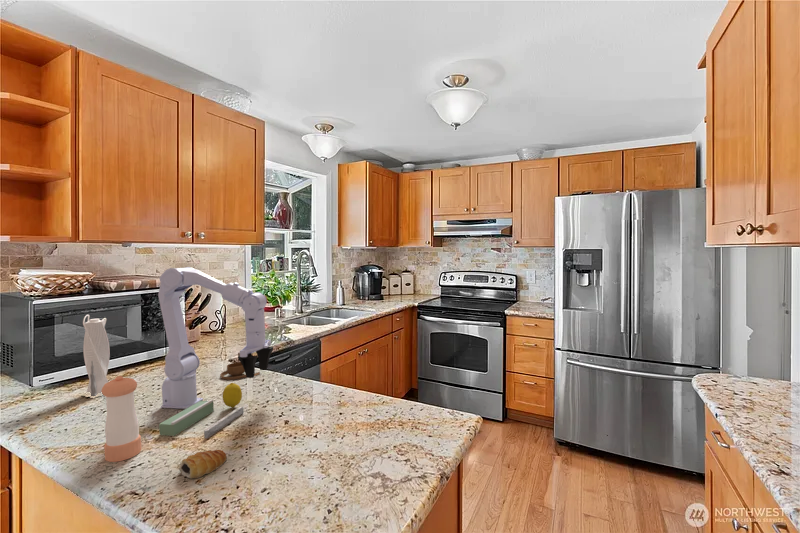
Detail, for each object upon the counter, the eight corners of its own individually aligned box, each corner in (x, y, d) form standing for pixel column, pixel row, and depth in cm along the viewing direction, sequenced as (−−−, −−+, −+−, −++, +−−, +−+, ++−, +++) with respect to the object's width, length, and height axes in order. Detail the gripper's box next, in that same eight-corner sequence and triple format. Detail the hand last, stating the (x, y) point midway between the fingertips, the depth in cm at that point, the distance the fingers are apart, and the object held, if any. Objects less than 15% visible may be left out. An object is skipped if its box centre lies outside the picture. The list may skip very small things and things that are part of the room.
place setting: (206, 380, 151) (206, 365, 151) (239, 365, 171) (239, 351, 170) (246, 382, 147) (245, 367, 147) (275, 367, 166) (275, 353, 166)
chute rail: (204, 438, 102) (204, 430, 102) (240, 412, 118) (240, 406, 118) (207, 438, 102) (207, 430, 102) (243, 412, 118) (243, 406, 118)
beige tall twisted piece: (78, 396, 136) (72, 316, 135) (103, 388, 144) (98, 312, 143) (93, 398, 133) (88, 317, 132) (118, 390, 141) (113, 313, 139)
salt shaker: (148, 448, 97) (144, 373, 97) (119, 464, 91) (114, 382, 90) (127, 444, 100) (123, 370, 99) (97, 459, 93) (92, 380, 92)
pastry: (217, 454, 94) (216, 439, 94) (233, 463, 90) (232, 447, 90) (176, 473, 86) (175, 457, 86) (192, 483, 82) (192, 466, 82)
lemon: (235, 412, 119) (234, 386, 118) (219, 411, 120) (218, 385, 119) (246, 405, 124) (245, 380, 124) (230, 404, 125) (229, 379, 125)
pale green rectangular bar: (159, 434, 105) (159, 421, 105) (200, 410, 121) (200, 399, 120) (174, 435, 104) (173, 422, 104) (213, 411, 120) (213, 399, 120)
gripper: (254, 336, 116) (255, 381, 117) (278, 326, 130) (280, 367, 131) (232, 336, 117) (234, 380, 118) (259, 326, 132) (260, 366, 132)
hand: (257, 373), depth 124 cm, fingers open, 7 cm apart
